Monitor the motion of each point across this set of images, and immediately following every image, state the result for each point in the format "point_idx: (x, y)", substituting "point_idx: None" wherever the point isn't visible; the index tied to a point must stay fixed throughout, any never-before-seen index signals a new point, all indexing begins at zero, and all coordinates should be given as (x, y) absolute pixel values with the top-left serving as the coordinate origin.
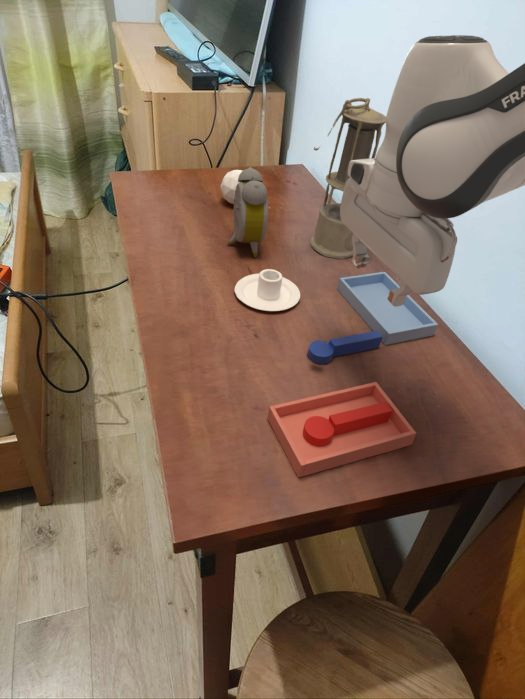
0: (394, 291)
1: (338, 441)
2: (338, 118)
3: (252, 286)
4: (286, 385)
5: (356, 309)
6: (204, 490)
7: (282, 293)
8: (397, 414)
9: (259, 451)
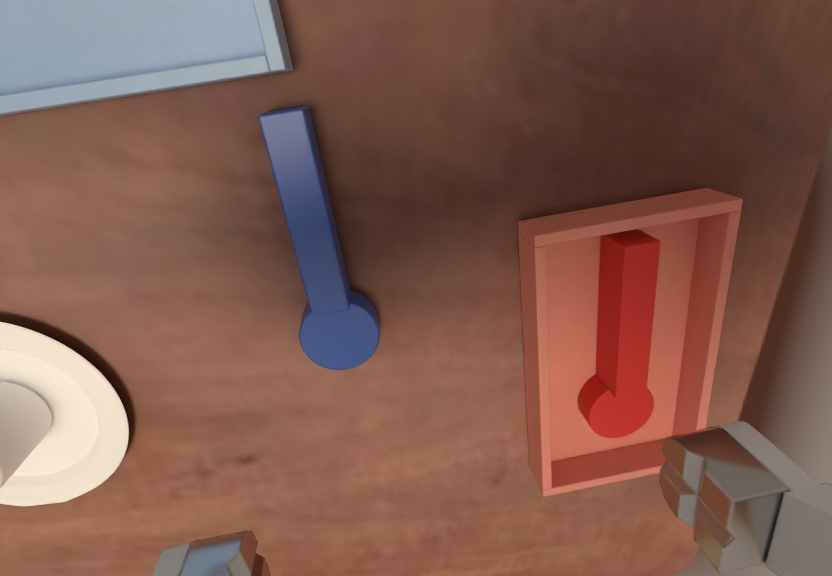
0: (745, 552)
1: None
2: None
3: None
4: (442, 419)
5: (49, 108)
6: (636, 552)
7: None
8: (666, 223)
9: None
